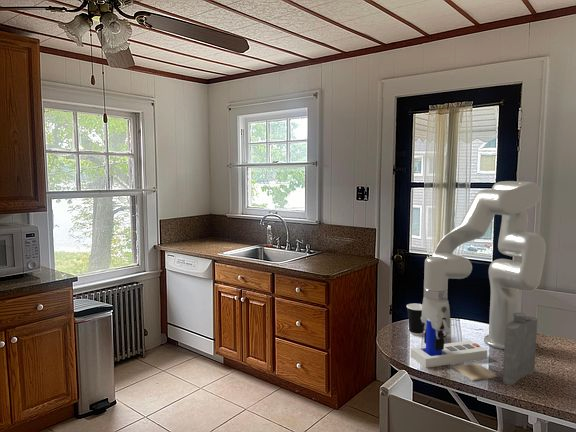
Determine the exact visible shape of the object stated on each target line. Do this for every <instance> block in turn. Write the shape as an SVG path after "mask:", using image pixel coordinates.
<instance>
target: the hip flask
mask: <svg viewBox="0 0 576 432" xmlns="http://www.w3.org/2000/svg"><path fill="white" fill-rule="evenodd" d="M513 316H514V321H512V322H510V323H508V324H507V325H506V327H505V347H504V349H503V350H504V351H503V352H504V353H503V372H502V382H503V383H504V384H505V385H507V386H513V385H515V384H516V383H517V382H518V381H520V379H522V378H524V377H527V376H528V375H531V374H534V373H535V366H536V351H537V348H536V347H537V332H538V318H537V317H534V316H528V315H527V314H525V313H523V312H519V313H514V314H513Z"/></svg>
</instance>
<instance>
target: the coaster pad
mask: <svg viewBox="0 0 576 432" xmlns="http://www.w3.org/2000/svg"><path fill="white" fill-rule="evenodd" d="M453 369H455V371H457V372H458V373H460V374H461V375H463V376H465V377H466V378H468V379H469V380H470V381H472V382H474V381H475V382H476V381H479V380H486V379H493V378H497V377H498V375H497V374H496V373H494V372H493V371H491V370H489V369H488V368H486V367H484V366H483V365H481V364H479V363H478V362H477V363H469V364H462V365H456V366H453Z"/></svg>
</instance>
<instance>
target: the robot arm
mask: <svg viewBox="0 0 576 432" xmlns="http://www.w3.org/2000/svg"><path fill="white" fill-rule="evenodd" d="M541 198H542V189H541V187H540V185H538V184H537V183H536V182H533V181H515V180H505V181H498V182H495V183H494V184H493V185H492V187H491V188H490V189H489V188H487V189H481V190H479V191H478V192H477V193H476V194H475V196H474V197H473V199H472V201H471V203H470V205H469V207H468V209H467V211H466V212H465V215H464V216H463V218H462V220H461V222H460V223H459V225H458V226H456V227H455V228H453V229H452V230H450V231H449V232H448V233H446V234H445V235H444V236H443V237H442V238H441V239H440V240H439V242H438V244H437V245H436V247H435V249H434V250H433V253H432V254H431V255H432V256H428V257H426V258H425V259H424V271H423V273H424V276H423V277H424V279H423V298H422V316H421V321H422V323H423V326H424V332H423V334H424V336H423V337H424V339H423V340H424V341H423V342H424V344H425V345H426V325H427V319H430V321H431V325H432V328H433V329H435V333H436V338H435V350H443V349H444V344H445V339H446V337H447V336H448V335H449V334H451V333H450V328H451V313H450V312H451V311H450V304H449V300H448V288H449V287H448V285H449V284H448V283H449V279H453V280H454V279H457V280H461V279H465V278H468V277H469V276H470V275H471V273H472V271H473V265H472V262H471V260H470V259H468V258H466V257H464V256H460V255H456V254H454V253H453V252H455V250H456V249H457V248H458V247H459V246H461V245H463V244H466V243H468V242H472V241H475V240H477V239H480V238H483V237H484V236H485V235H486V233H487V231H488V229H489V227H490V225H491V223H492V220H493V219H494V217H495V215H499V216H501V223H500V230H499V236H498V242H497V248H498V252H500V253H501V254H502V255H505V256H509V257H514V258H518V259H521V261H517V260H512V259H508V258H497V259H495V260H493V261H492V262H491V263H490V264H489V267H488V279H489V285H490V301H489V303H490V304H489V305H490V306H489V323H488V324H489V325H488V334H487V335H485V336H484V337H483V342H484V343H485V344H486V345H488V346H491V347H493V348H496V349H500V350H504V347H505V327H506V325H507V324H508V323H510V322H512V321H514V316H513V314H514V313H520V312H519V310H520V309H519V308H520V296H519V292H518V290H519V291H524V292H533V291H535V290H537V288H538V287H539V286H540V284H541V280H542V275H543V271H544V265H545V259H546V252H547V244H546V241H545V238H544V237H543V236H542V235H541V234H539V233H535V232H529V231H528V225H529V224H528V223H529V216H528V212H527V210H528V209H530V208H532V207H534V206H536V205H537V204H538V203H539V202H540V200H541ZM440 327H441V329H440ZM439 331H441V333H440V334H439Z"/></svg>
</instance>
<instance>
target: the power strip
mask: <svg viewBox="0 0 576 432" xmlns="http://www.w3.org/2000/svg"><path fill="white" fill-rule="evenodd" d="M410 358H412V359H413V360H414V361H416V362H417V363H418V364H420V365H421V366H422V367H424V368H426V369H427V368H433V367H440V366H446V365H454V364H455V365H456V364H461V363H467V362H473V361H480V360H481V361H482V360H486V359H488V349H485V348H484V347H482V346H480V344H478V343H476V342H473V341H471V340H464V341H456V342H449V343H448V342H447V343H444V349H443V350H442V355H437V356H430V355H428V354H427V353H426V345H425V346H419V347H418V346H417V347H410Z"/></svg>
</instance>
